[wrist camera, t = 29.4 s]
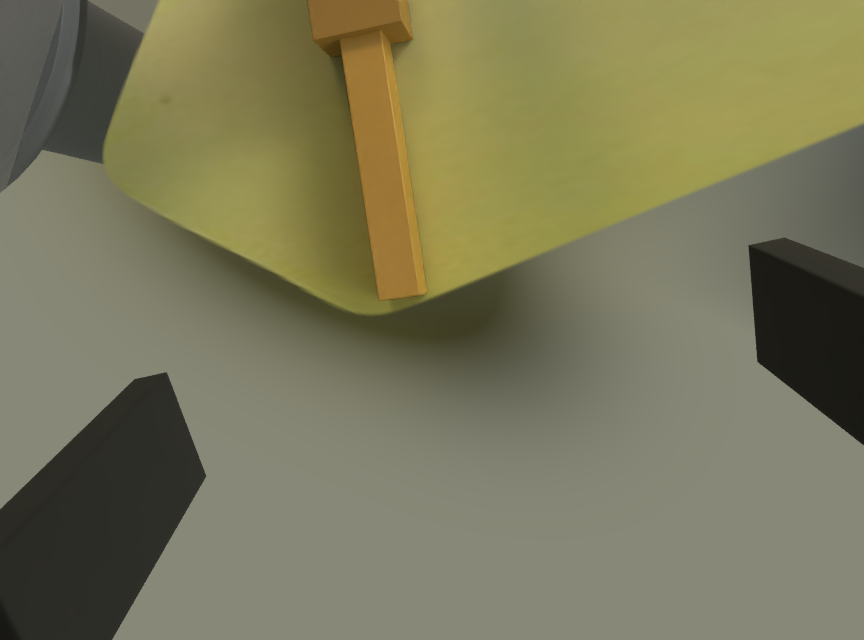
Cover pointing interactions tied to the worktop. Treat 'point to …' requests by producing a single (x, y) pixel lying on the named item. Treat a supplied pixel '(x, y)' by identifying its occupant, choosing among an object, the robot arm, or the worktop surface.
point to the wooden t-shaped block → (377, 131)
